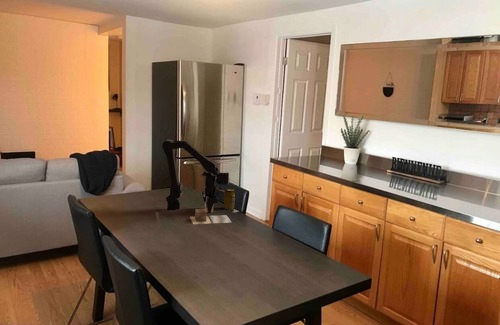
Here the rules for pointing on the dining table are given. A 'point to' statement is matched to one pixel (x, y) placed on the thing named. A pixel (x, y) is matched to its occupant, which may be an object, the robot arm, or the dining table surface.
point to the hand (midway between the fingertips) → (208, 211)
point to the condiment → (229, 200)
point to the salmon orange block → (207, 209)
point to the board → (214, 219)
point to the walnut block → (200, 215)
